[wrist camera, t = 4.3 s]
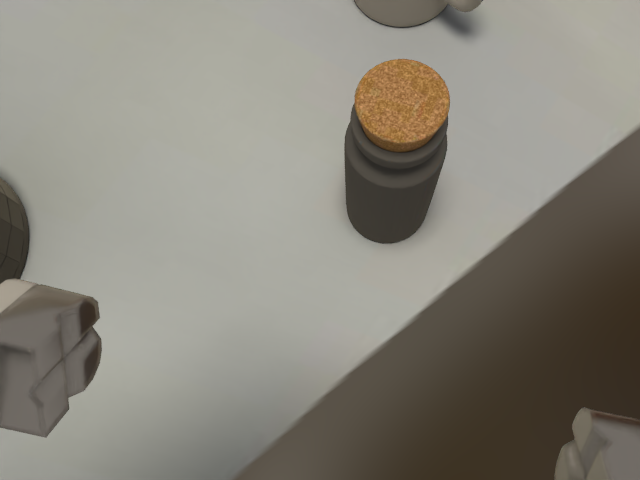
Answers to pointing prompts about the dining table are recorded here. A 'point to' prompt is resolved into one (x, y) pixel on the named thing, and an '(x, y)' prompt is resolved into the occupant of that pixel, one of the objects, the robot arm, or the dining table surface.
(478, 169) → the dining table surface
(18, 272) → the dark low round container
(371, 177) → the bottle
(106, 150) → the dining table surface
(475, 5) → the mug
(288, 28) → the dining table surface
